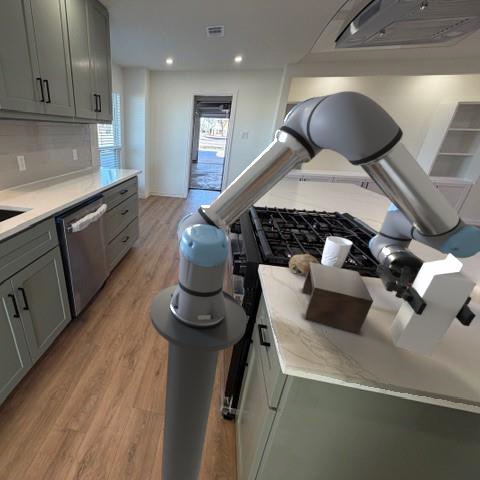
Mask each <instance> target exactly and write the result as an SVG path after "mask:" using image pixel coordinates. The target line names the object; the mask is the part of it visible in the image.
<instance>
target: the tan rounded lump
mask: <svg viewBox="0 0 480 480" xmlns="http://www.w3.org/2000/svg"><path fill="white" fill-rule="evenodd" d="M310 262H312V263H317V264H321V263H320V262H319V260H318V259H317V258H316V257H314V256H313V255H311V254H310V253H309V254H307V253H304V254H295V255H293V256H292V257H291V258H290V259H289V262H288V267H289V269H290V271H292V273H293V274H296V275H300V276H303V277H306V275H307V272H308V268H309V265H310Z"/></svg>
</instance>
